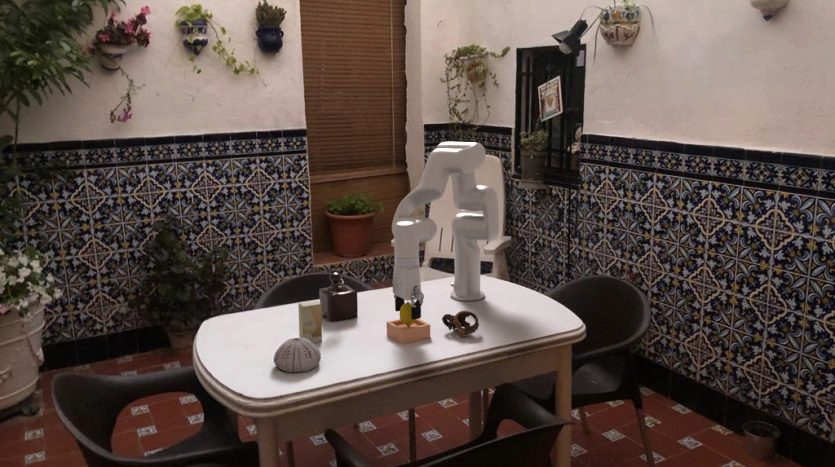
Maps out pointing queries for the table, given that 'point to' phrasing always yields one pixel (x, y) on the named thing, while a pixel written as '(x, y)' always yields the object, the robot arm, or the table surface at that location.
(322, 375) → the table surface
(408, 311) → the lemon
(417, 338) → the orange square tray
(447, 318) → the pottery mug
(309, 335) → the skincare box
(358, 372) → the table surface
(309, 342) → the sea urchin shell
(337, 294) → the dark square decanter
